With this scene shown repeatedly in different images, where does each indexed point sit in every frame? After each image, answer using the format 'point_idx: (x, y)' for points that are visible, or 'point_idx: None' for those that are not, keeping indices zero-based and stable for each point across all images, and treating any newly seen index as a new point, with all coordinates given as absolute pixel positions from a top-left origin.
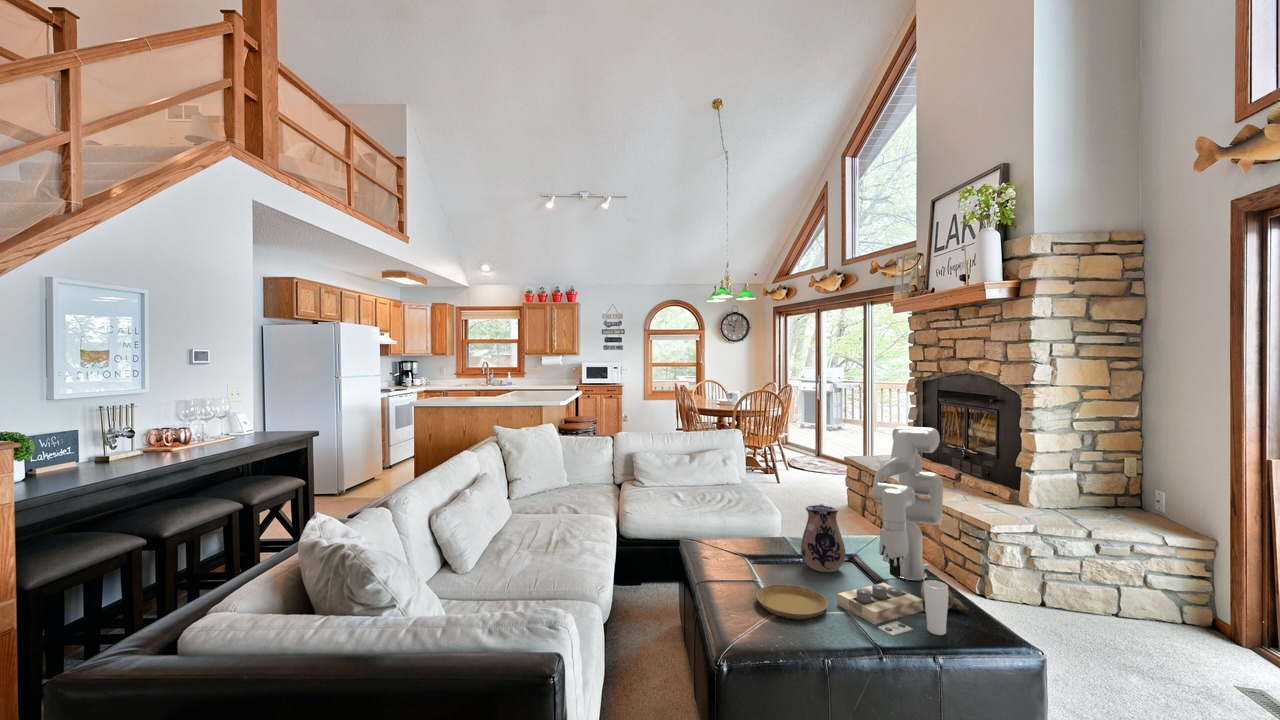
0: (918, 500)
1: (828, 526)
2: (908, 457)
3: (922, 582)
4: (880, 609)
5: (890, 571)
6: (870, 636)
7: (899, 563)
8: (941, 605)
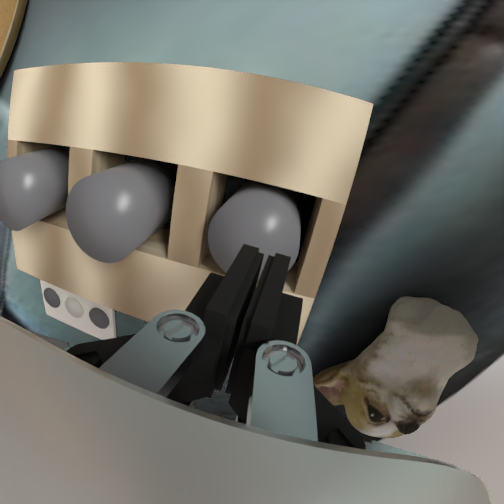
0: None
1: None
2: None
3: (451, 336)
4: (41, 275)
5: (208, 277)
6: (7, 273)
7: (236, 421)
8: None
